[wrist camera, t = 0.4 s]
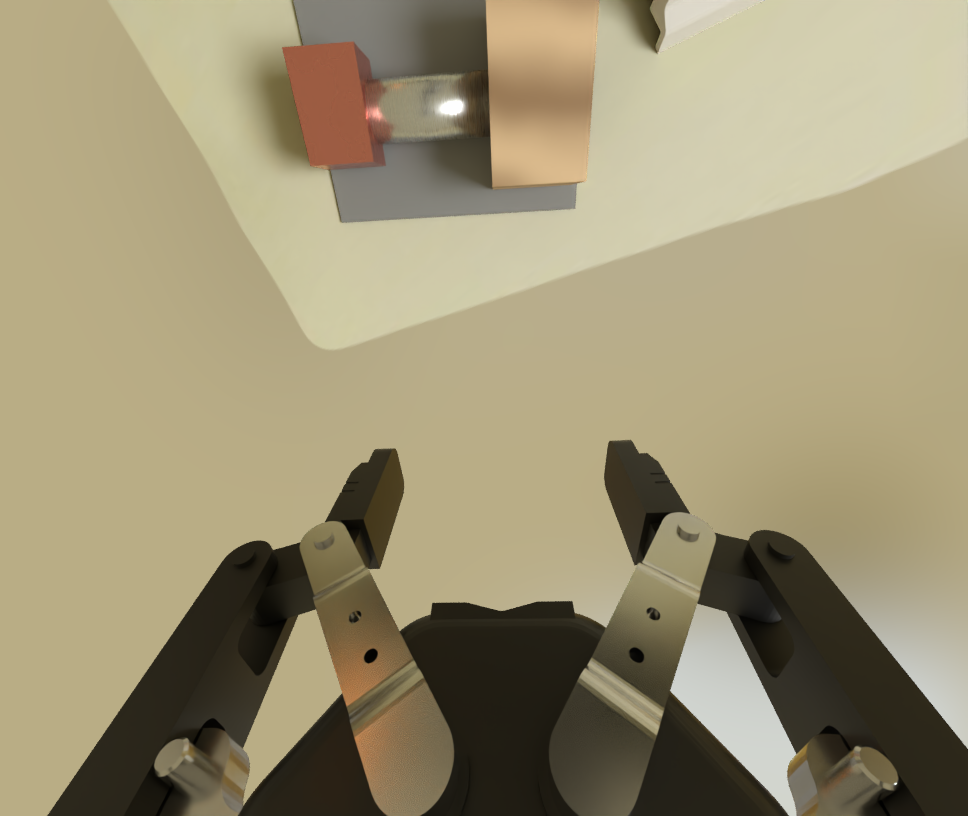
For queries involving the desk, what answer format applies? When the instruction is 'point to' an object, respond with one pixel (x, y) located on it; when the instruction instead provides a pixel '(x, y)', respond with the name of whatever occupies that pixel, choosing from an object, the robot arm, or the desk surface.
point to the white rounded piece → (692, 17)
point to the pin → (378, 106)
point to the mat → (430, 164)
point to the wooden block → (540, 90)
